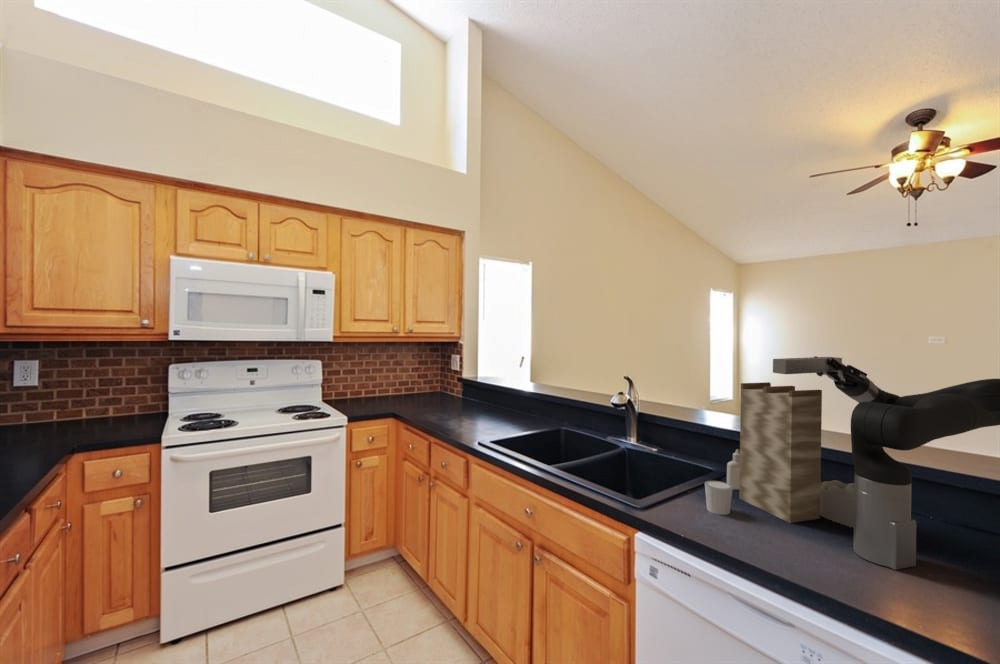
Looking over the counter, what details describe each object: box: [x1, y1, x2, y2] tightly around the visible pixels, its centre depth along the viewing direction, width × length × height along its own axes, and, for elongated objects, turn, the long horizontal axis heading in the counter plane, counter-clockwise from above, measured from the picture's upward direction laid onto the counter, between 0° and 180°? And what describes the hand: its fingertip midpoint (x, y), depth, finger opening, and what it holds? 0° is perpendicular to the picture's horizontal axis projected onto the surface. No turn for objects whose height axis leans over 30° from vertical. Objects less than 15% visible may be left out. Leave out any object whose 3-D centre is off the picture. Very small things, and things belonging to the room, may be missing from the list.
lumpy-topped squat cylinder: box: [820, 479, 855, 529], centre depth 113 cm, size 10×13×9 cm
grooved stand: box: [738, 381, 823, 524], centre depth 118 cm, size 16×10×34 cm, turn 16°
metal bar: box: [772, 356, 843, 375], centre depth 127 cm, size 4×22×4 cm, turn 107°
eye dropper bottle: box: [726, 448, 740, 491], centre depth 133 cm, size 4×6×12 cm
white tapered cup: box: [704, 480, 734, 516], centre depth 117 cm, size 7×7×7 cm
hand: (821, 359), depth 128 cm, fingers closed on metal bar, 4 cm apart
